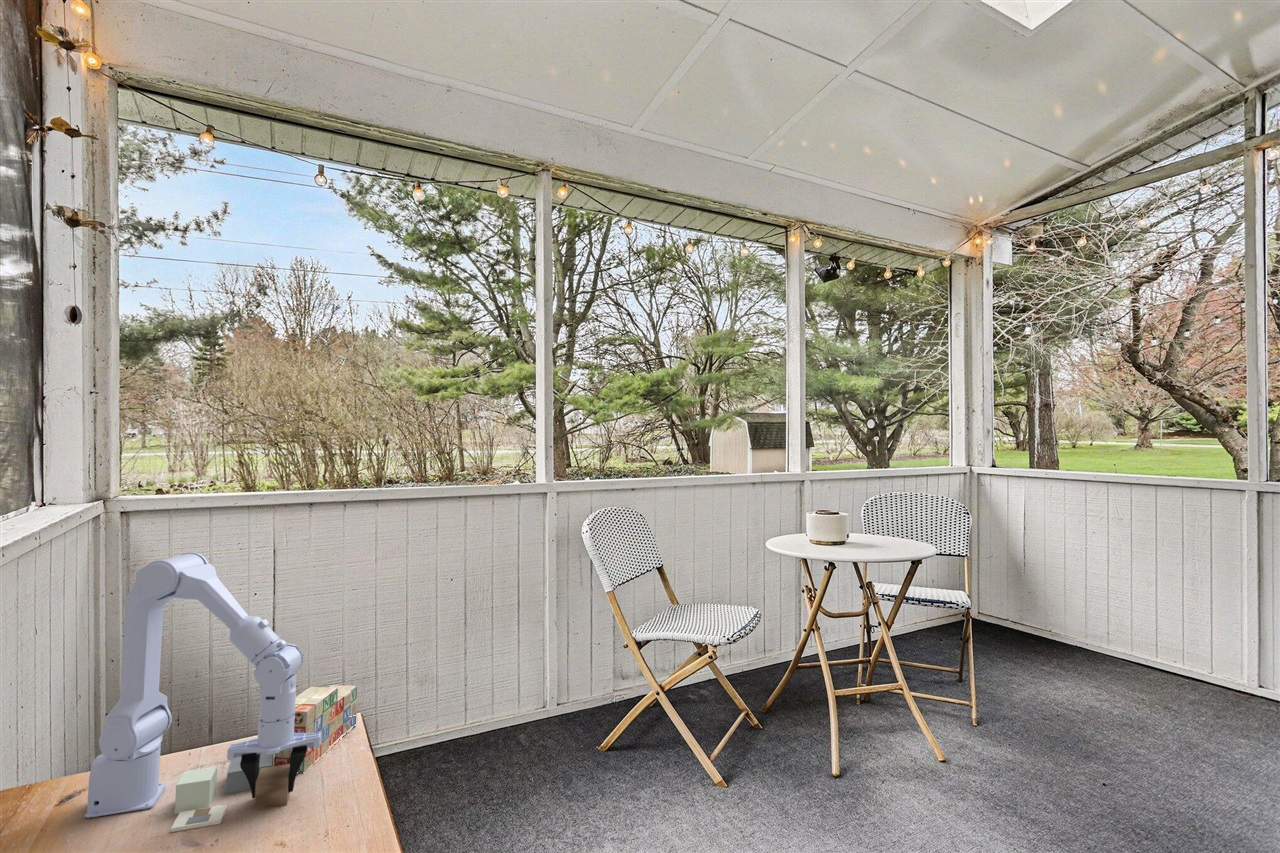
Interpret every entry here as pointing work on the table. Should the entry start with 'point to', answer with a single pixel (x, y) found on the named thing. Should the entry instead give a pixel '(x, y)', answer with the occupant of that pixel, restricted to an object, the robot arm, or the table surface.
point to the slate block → (238, 778)
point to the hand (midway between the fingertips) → (273, 792)
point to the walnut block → (272, 787)
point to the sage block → (195, 789)
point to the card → (199, 818)
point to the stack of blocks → (322, 719)
